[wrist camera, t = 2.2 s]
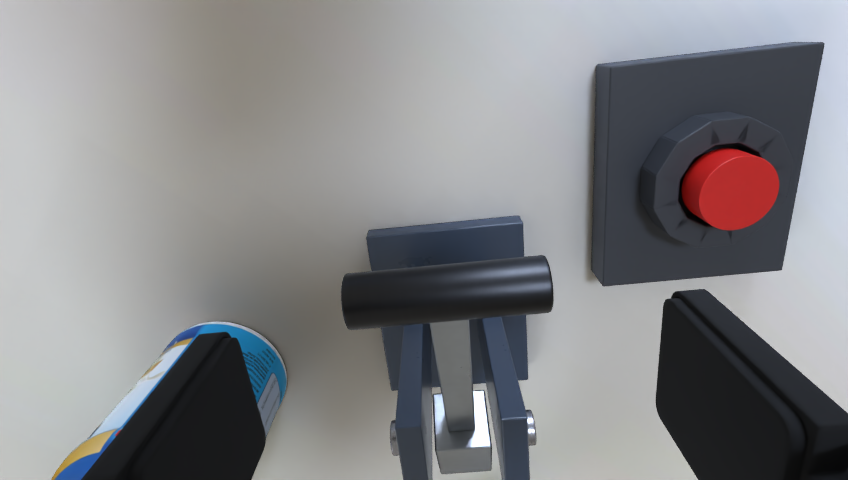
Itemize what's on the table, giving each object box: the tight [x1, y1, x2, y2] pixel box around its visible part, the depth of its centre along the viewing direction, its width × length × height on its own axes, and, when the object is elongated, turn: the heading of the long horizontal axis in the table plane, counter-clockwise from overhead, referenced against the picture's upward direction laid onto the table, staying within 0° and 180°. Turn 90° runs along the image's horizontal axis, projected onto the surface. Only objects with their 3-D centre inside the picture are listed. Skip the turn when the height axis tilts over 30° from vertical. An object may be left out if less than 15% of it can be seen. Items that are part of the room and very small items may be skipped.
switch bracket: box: [366, 216, 536, 480], centre depth 25 cm, size 11×9×13 cm
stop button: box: [681, 148, 779, 230], centre depth 23 cm, size 4×4×2 cm
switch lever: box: [341, 255, 553, 474], centre depth 17 cm, size 12×6×2 cm, turn 4°
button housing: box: [591, 42, 824, 286], centre depth 25 cm, size 12×10×4 cm
